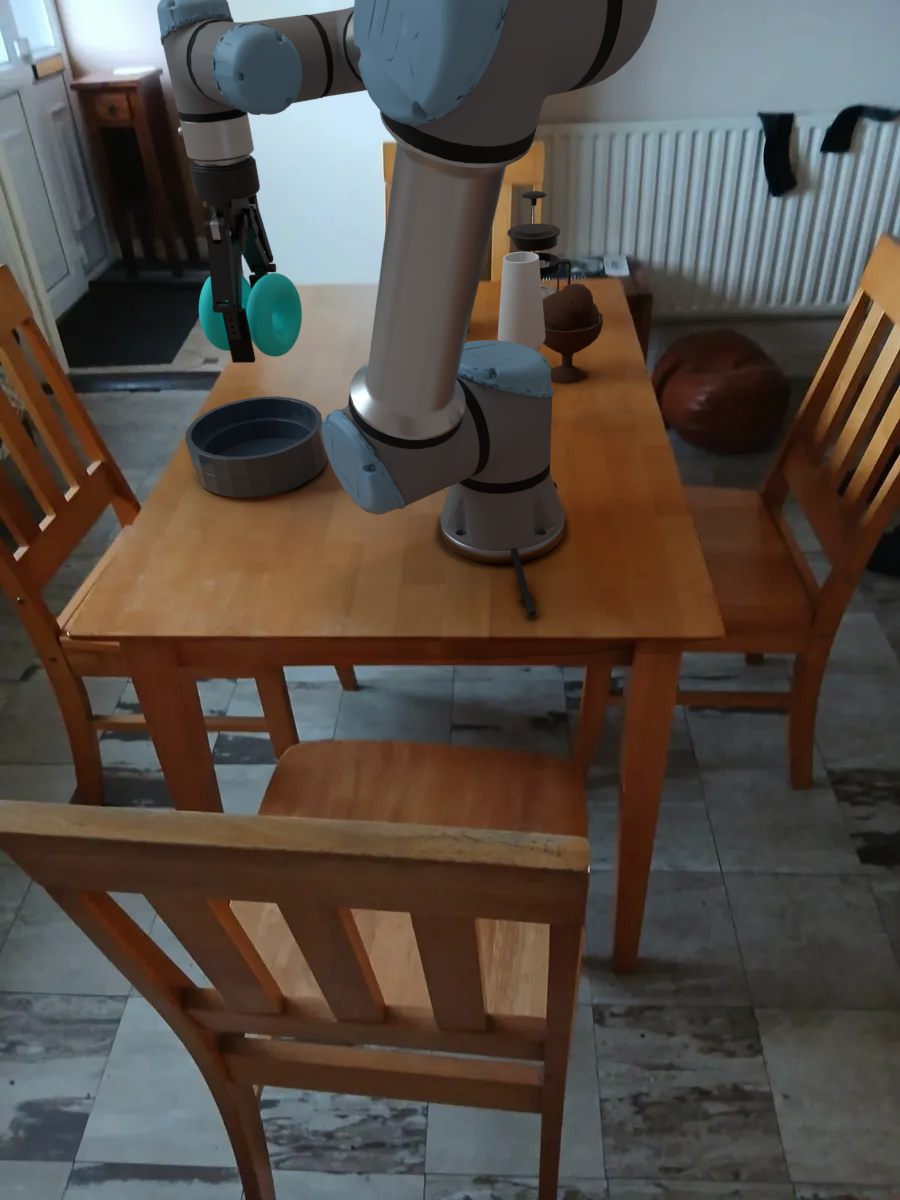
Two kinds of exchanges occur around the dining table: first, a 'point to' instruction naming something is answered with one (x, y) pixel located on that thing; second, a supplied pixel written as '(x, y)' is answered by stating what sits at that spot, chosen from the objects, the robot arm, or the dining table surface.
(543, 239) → the french press
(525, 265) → the white tapered vase
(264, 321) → the donuts
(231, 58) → the robot arm
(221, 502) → the dining table surface
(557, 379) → the ice cream bowl
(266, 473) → the bowl
